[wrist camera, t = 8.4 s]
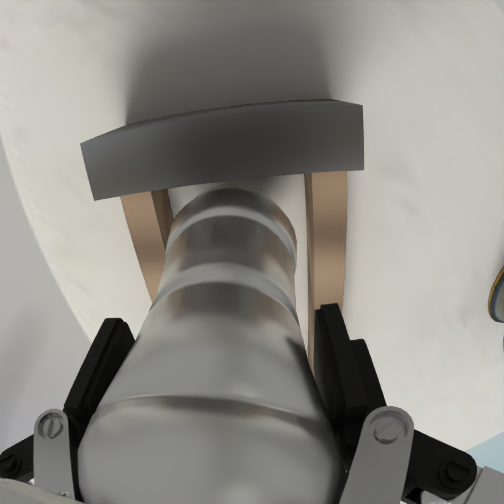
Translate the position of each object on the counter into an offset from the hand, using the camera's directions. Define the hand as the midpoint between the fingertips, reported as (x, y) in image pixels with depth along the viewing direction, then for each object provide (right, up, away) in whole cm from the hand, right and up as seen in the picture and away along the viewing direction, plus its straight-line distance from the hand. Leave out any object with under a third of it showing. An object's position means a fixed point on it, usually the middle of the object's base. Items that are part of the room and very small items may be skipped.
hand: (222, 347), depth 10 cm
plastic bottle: (0, +5, +9) cm, 10 cm away
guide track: (+1, 0, +14) cm, 14 cm away
